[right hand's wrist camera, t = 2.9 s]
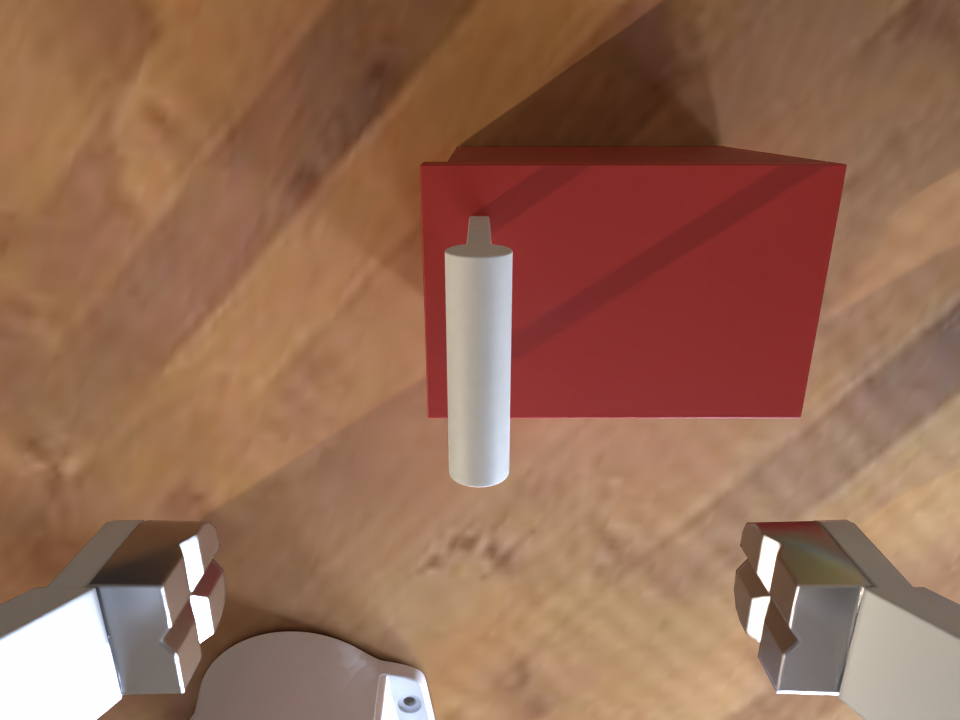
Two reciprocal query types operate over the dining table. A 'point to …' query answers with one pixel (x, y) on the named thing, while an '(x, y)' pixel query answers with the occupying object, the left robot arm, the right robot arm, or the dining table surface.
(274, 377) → the dining table surface
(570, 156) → the chest
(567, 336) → the lid
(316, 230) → the dining table surface
